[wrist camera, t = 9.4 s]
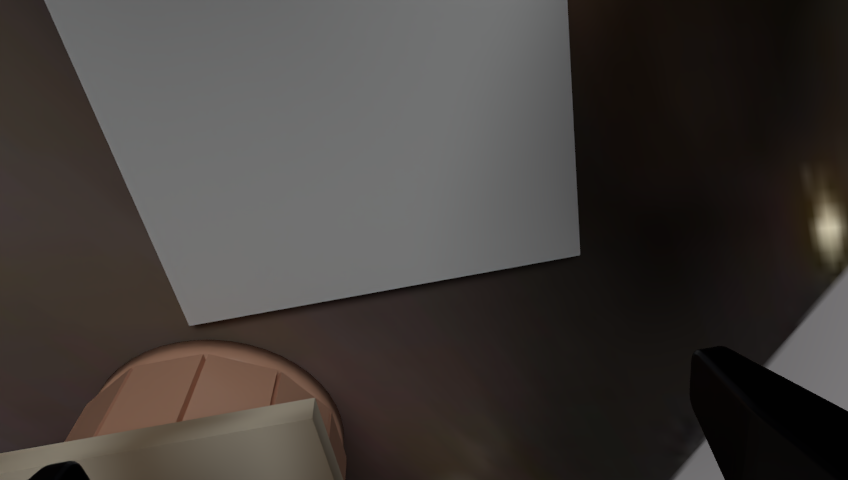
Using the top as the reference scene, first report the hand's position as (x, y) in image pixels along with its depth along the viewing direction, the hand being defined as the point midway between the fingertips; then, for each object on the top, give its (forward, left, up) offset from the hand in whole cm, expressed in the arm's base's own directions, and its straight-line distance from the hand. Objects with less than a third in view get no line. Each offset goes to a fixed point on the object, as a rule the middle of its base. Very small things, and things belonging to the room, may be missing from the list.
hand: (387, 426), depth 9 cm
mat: (+1, -2, -12) cm, 12 cm away
